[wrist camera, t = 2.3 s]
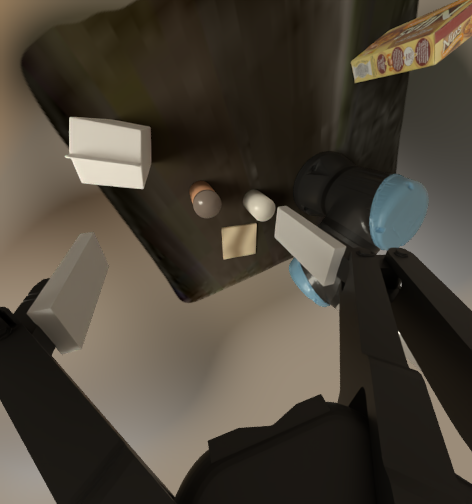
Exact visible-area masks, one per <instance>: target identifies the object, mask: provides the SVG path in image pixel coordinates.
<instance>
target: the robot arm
mask: <svg viewBox="0 0 472 504" xmlns="http://www.w3.org/2000/svg"><path fill="white" fill-rule="evenodd" d="M293 196H294V201H295V203H296V205H297V206H298V208H299V209H300V210H302V211H303V212H305V213H307V214H309V215H312V216H320V217H325V218H324V219H323V221H322V222H321V223H320V224H319V226H318V227H317V226H315V225H314V224H312V223H311V222H309V221H308V220H306V219H305V218H303V217H302V216H301V215H299V214H298V213H296V212H295V211H293V210H292V209H290V208H289V207H287V206H281V207H278V209H277V218H276V228H275V238H276V239H277V240H278V241H279V242H280V243H281V244H282V245H283V246H284V247H285V248H286V249H287V250H288V251H289V252H290V253H291V254H292V255H293V256H294V258H293V260H292V261H291V263H290V265H289V272H290V275H291V277H292V279H293V281H294V282H295V284H296V285H297V286H298V287H299V289H300V290H301V291H302V292H303V293H304V294H305V295H306V296H307V297H308V298H309V299H311V300H313V301H314V302H315V303H316V304H318V305H319V306H322V307H327V306H330V305H332V306H333V307H334V308H335V309H337V310H339V311H340V312H339V316H340V394H339V399H338V403H334V402H325V400H324V398H323V397H322V395H321V394H320V395H317V396H315V397H313V398H310V399H308V400H305V401H303V402H301V403H298V404H296V405H295V406H294V407H293V408H291V409H290V410H289V411H288V412H287V413H286V414H285V415H284V416H283V417H282V418H280V419H279V420H278V421H277V422H276V423H275V424H274V425H271V426H262V427H248V428H247V427H246V428H238V429H235V430H233V431H230V432H228V433H225V434H223V435H221V436H218V437H216V438H213V439H211V440H209V441H208V446H209V450H208V451H206V452H205V453H204V454H203V455H202V456H201V457H200V458H199V459H198V460H197V461H196V462H195V463H194V465H193V466H192V468H191V469H190V470H189V472H188V473H187V475H186V477H185V478H184V480H183V482H182V484H181V486H180V488H179V490H178V492H177V494H176V497H174V496H173V494H172V493H171V492H170V491H169V490H168V489H167V488H166V486H165V485H164V484H163V483H162V482H161V481H160V480H159V478H158V477H157V476H156V475H155V474H154V473H153V472H152V471H151V470H150V468H149V467H148V466H147V465H146V464H145V463H144V461H143V460H142V459H141V458H140V457H139V456H138V455H137V453H136V452H135V451H134V450H133V449H132V448H131V447H130V445H129V444H128V443H127V442H126V441H125V440H124V438H123V437H122V436H121V435H120V434H119V433H118V432H117V430H116V429H115V428H114V427H113V426H112V425H111V423H110V422H109V421H108V420H107V419H106V418H105V417H104V416H103V414H102V413H101V412H100V411H99V410H98V409H97V407H96V406H95V405H94V404H93V403H92V402H91V401H90V399H89V398H88V397H87V396H86V395H85V394H84V392H83V391H82V390H81V389H80V388H79V387H78V386H77V384H76V383H75V382H74V381H73V380H72V379H71V377H70V376H69V375H68V374H67V373H66V372H65V371H64V369H63V368H62V367H61V366H60V365H59V364H58V363H57V361H56V360H55V359H54V358H53V357H52V353H53V351H54V349H55V347H56V348H57V349H58V351H59V352H60V353H61V354H66V353H70V352H73V351H77V350H81V349H82V346H83V343H84V339H85V337H86V333H87V331H88V328H89V325H90V322H91V319H92V316H93V313H94V310H95V307H96V304H97V301H98V298H99V295H100V292H101V289H102V286H103V283H104V280H105V277H106V274H107V271H108V268H109V265H108V263H107V260H106V258H105V256H104V254H103V251H102V249H101V247H100V245H99V243H98V240H97V238H96V236H95V233H94V232H90V233H82V234H80V235H79V236H78V238H77V240H76V241H75V242H74V244H73V245H72V247H71V248H70V250H69V251H68V253H67V254H66V256H65V257H64V259H63V260H62V262H61V263H60V264H59V266H58V267H57V269H56V270H55V272H54V273H53V275H52V276H51V278H48V279H43V280H42V281H41V282H39V283H38V284H37V285H35V286H34V287H33V288H32V290H31V291H30V292H29V294H28V296H26V298H25V299H24V300H23V303H21V305H20V306H19V307H18V308H17V310H16V311H15V313H14V314H13V313H11V311H10V310H9V309H8V308H6V307H0V400H1V402H2V404H3V406H4V407H5V409H6V411H7V413H8V415H9V417H10V419H11V420H12V422H13V424H14V426H15V428H16V429H17V431H18V433H19V435H20V437H21V439H22V441H23V442H24V444H25V446H26V448H27V450H28V452H29V453H30V455H31V457H32V459H33V461H34V463H35V465H36V466H37V468H38V470H39V472H40V474H41V475H42V477H43V479H44V481H45V483H46V485H47V487H48V488H49V490H50V492H51V494H52V496H53V497H54V499H55V501H56V503H57V504H472V484H471V483H469V482H468V481H466V480H465V479H463V478H461V477H460V476H458V475H457V474H455V473H454V469H453V467H452V463H451V460H450V457H449V454H448V451H447V448H446V445H445V442H444V439H443V436H442V433H441V430H440V427H439V424H438V421H437V418H436V415H435V412H434V409H433V406H432V403H431V400H430V397H429V394H428V391H427V387H426V384H425V381H424V379H423V377H422V375H421V374H420V373H419V372H418V371H416V370H413V369H410V368H409V366H408V364H407V360H406V359H408V360H409V361H410V362H411V363H412V364H413V365H415V366H416V367H417V368H418V369H419V370H420V371H422V372H423V374H424V376H425V377H426V379H427V381H428V382H429V384H430V386H431V388H432V389H433V391H434V392H435V395H436V396H437V398H438V400H439V401H440V403H441V405H442V407H443V408H444V410H445V412H446V413H447V415H448V417H449V418H450V420H451V422H452V423H453V424H454V426H455V428H456V429H457V431H458V432H459V434H460V435H461V437H462V438H463V440H464V441H465V443H466V444H467V445H468V447H469V448H470V450H471V451H472V311H471V310H470V309H469V308H468V307H467V306H466V305H465V304H464V303H463V302H462V301H461V300H460V299H459V298H458V297H457V296H456V295H455V294H454V293H453V292H452V291H451V290H450V289H449V288H448V287H447V286H446V285H445V284H444V283H443V282H442V281H440V280H439V279H438V278H437V277H436V276H435V275H434V274H433V273H432V272H431V271H430V270H429V269H428V268H427V267H426V266H425V265H424V264H423V263H422V262H421V261H420V260H419V259H418V258H417V257H416V256H415V255H414V254H413V253H411V252H409V251H407V250H406V249H402V248H399V247H400V246H403V245H405V244H406V243H407V242H408V241H409V240H410V239H411V238H412V237H413V236H414V235H415V234H416V232H417V231H418V229H419V228H420V226H421V225H422V223H423V221H424V218H425V216H426V213H427V208H428V202H429V198H428V193H427V190H426V188H425V187H424V185H423V184H421V183H420V182H418V181H415V180H412V179H409V178H405V177H404V176H402V175H399V174H391V173H386V172H381V171H376V170H372V169H367V168H362V167H358V166H356V165H355V164H353V163H352V162H351V161H350V160H349V159H348V158H346V157H345V156H344V155H342V154H339V153H335V152H322V153H319V154H317V155H315V156H313V157H312V158H311V159H309V160H308V161H307V162H306V163H305V164H304V165H303V167H302V168H301V170H300V171H299V173H298V175H297V177H296V180H295V183H294V188H293ZM380 249H381V250H388V251H387V253H386V255H376V254H377V253H378V251H379V250H380ZM401 282H402V287H401V286H400V284H401Z"/></svg>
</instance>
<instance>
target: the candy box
mask: <svg viewBox="0 0 472 504" xmlns="http://www.w3.org/2000/svg"><path fill="white" fill-rule="evenodd" d="M471 36H472V0H458V1H456V2H454V3H451V4H449V5H447V6H444V7H442V8H440V9H438V10H435V11H433V12H430V13H428V14H426V15H423V16H421V17H419V18H417V19H414V20H412V21H410V22H407V23H405V24H403V25H400V26H398V27H396V28H394V29H391V30H389V31H388V32H386V33H385V34H384V35H383V36H382V37H380V38H379V39H378V40H377V41H375V42H374V43H373V44H372V45H370V46H369V47H368V48H367V49H366V50H364V51H363V52H362V53H361V54H360V55H358V56H357V57H356V58H355V59H354V60H352V61H351V65H352V70H353V75H354V80H355V83H358V82H362V81H367V80H372V79H376V78H380V77H385V76H389V75H394V74H398V73H403V72H407V71H411V70H416V69H420V68H425V67H429V66H434V65H436V64H437V63H438V62H440V61H441V60H442V59H444V58H445V57H446V56H447V55H449V54H450V53H451V52H452V51H453V50H455V49H456V48H458V47H459V46H460V45H461V44H463V43H464V42H465V41H466V40H468V39H469V38H470V37H471Z"/></svg>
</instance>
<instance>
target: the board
mask: <svg viewBox="0 0 472 504" xmlns="http://www.w3.org/2000/svg"><path fill="white" fill-rule="evenodd" d="M256 230H257V223H251V224H244V225H237V226H230V227H223V228H222V244H223V258H224V259H229V258H234V257H239V256H245V255H250V254H256Z"/></svg>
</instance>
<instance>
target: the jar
mask: <svg viewBox="0 0 472 504" xmlns="http://www.w3.org/2000/svg"><path fill="white" fill-rule="evenodd" d="M189 194H190V197H191V200H192V203H193V207H194V210H195V212H196V213H197V214H198V215H199V216H200V217H203V218H211V217H214V216H216V215H217V214H218V213H219V211H220V209H221V199H220V197H219V196H218V194H217V193H216V192H215V191H214V190H213V189H212V187H211V186H210V185H209V184H208V183H207V182H205V181H197V182H195V183H193V184H192V186H191V187H190V190H189Z"/></svg>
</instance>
